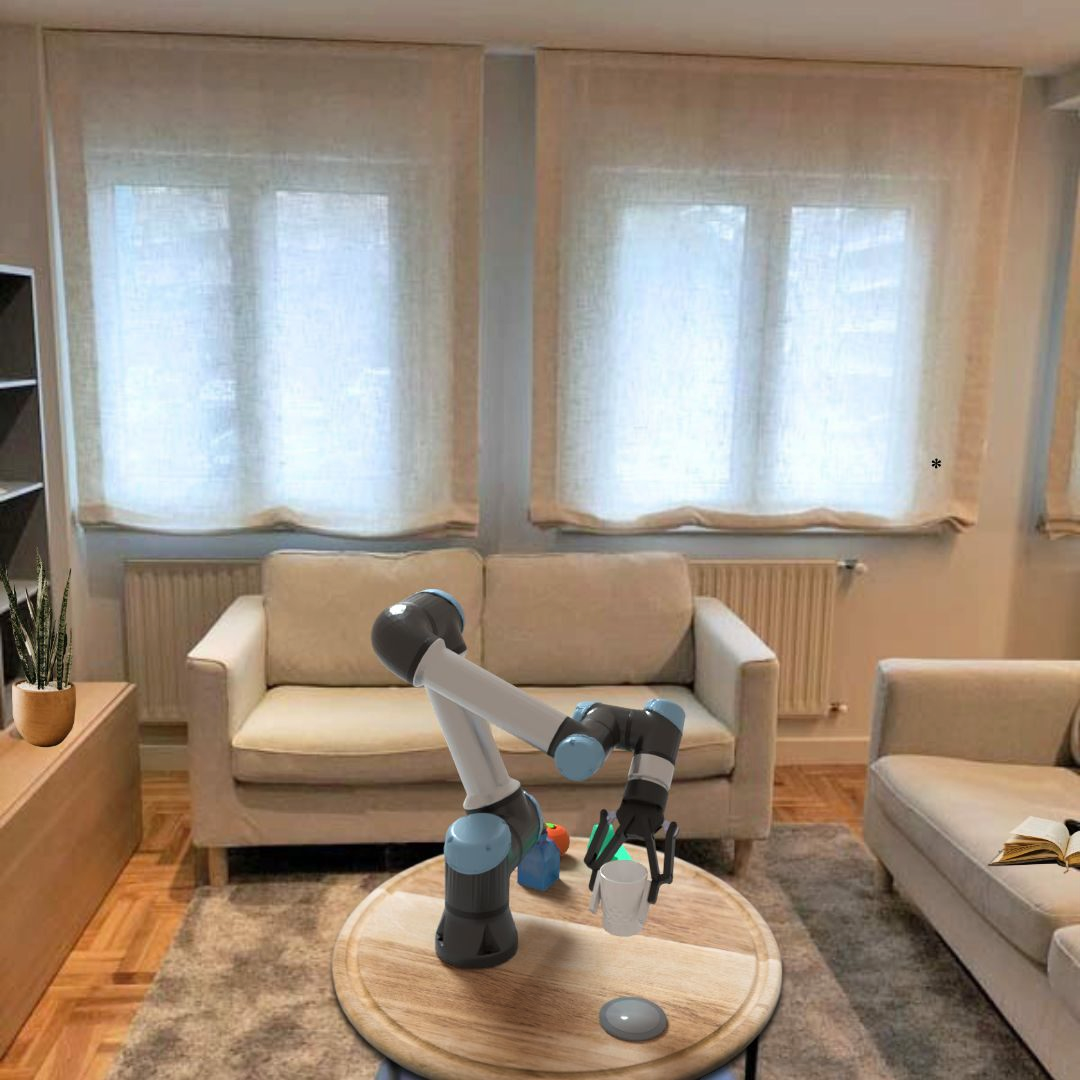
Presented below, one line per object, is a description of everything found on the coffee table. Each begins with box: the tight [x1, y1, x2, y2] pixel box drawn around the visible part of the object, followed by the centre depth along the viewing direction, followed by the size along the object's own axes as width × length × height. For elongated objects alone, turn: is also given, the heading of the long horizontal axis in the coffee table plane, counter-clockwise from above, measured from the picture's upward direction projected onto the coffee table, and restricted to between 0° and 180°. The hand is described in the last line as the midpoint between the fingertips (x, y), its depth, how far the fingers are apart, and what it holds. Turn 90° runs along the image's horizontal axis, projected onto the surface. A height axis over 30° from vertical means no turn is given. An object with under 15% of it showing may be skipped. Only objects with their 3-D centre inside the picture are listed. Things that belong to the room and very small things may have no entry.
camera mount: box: [586, 824, 634, 861], centre depth 235 cm, size 12×8×10 cm, turn 14°
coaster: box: [598, 996, 667, 1042], centre depth 186 cm, size 11×11×1 cm
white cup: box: [600, 860, 649, 938], centre depth 188 cm, size 8×8×10 cm
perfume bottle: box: [516, 822, 561, 892], centre depth 230 cm, size 6×6×12 cm
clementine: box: [545, 822, 571, 857], centre depth 241 cm, size 8×7×7 cm
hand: (616, 916), depth 185 cm, fingers closed on white cup, 8 cm apart
